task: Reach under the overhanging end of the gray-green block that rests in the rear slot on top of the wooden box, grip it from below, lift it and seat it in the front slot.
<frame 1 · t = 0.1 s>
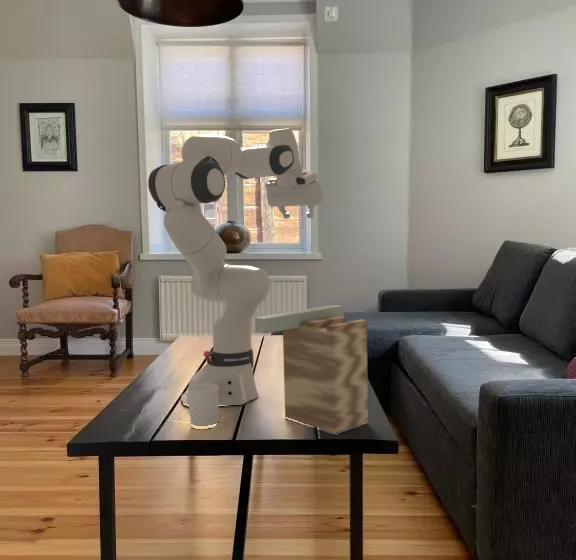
hand: (298, 217, 208), 52 cm above the table, tool tilted 20°, fingers open, 8 cm apart
wooden box: (325, 421, 158), on the table
mug: (308, 349, 246), on the table
white cup: (204, 426, 158), on the table
gray-green block: (301, 325, 157), point 25 cm above the table, touching wooden box
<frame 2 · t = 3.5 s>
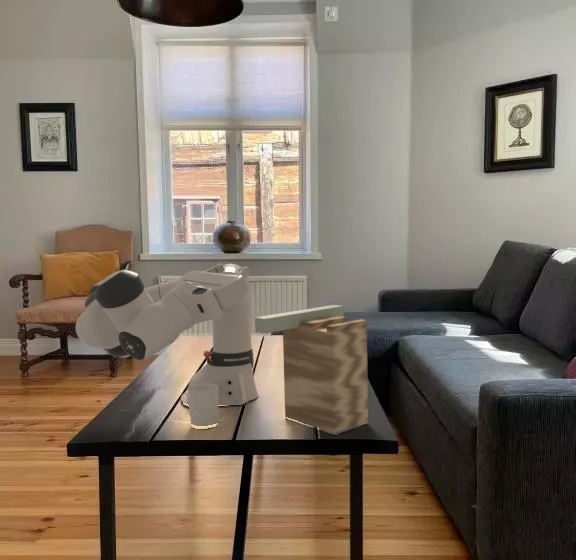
hand: (234, 268, 138), 41 cm above the table, tool pointing upward, fingers open, 8 cm apart
nothing on the table moved.
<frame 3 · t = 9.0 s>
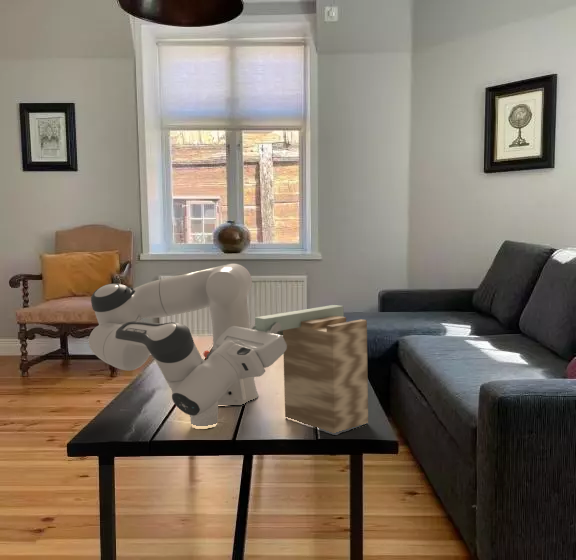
hand: (272, 323, 150), 27 cm above the table, tool pointing upward, fingers closed on gray-green block, 3 cm apart
gray-green block: (301, 325, 157), point 25 cm above the table, touching gripper, wooden box
everything else where it was.
when the fingers open (27 cm above the table, at t = 13.5 s): gray-green block stays where it is, resting on wooden box.
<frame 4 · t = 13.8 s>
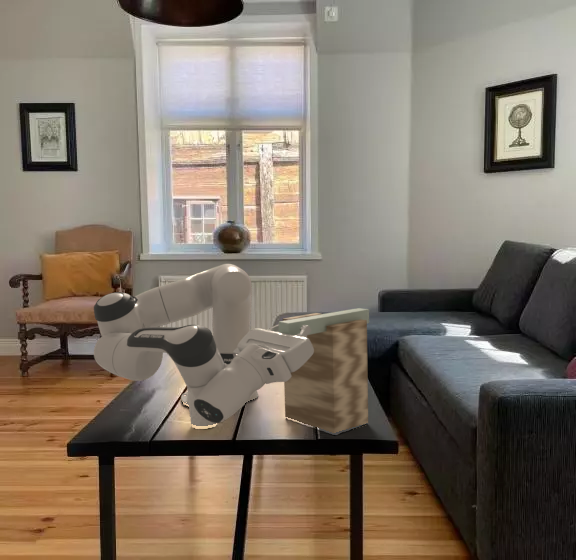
hand: (296, 325, 143), 27 cm above the table, tool pointing upward, fingers open, 6 cm apart
gray-green block: (326, 329, 150), point 25 cm above the table, touching wooden box
everything else where it was.
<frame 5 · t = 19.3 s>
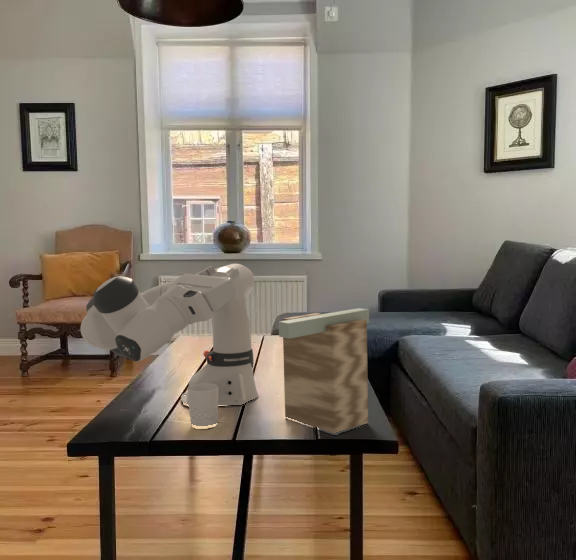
hand: (224, 269, 145), 40 cm above the table, tool pointing upward, fingers open, 8 cm apart
nothing on the table moved.
at the end: gray-green block 0.2 cm from the target spot on the wooden box, point 25.0 cm above the wooden box's base; gray-green block tilted 0°; the gripper is holding nothing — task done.
